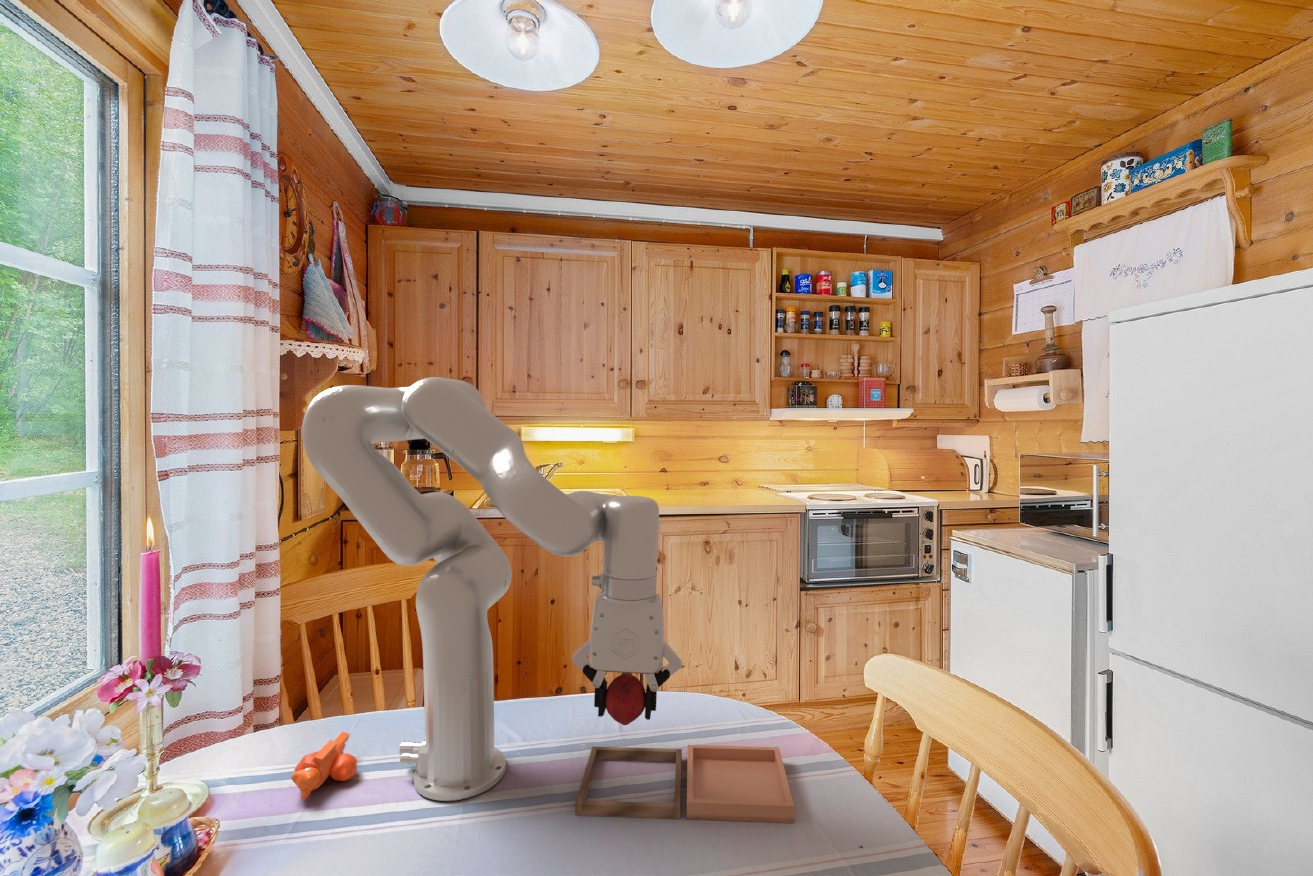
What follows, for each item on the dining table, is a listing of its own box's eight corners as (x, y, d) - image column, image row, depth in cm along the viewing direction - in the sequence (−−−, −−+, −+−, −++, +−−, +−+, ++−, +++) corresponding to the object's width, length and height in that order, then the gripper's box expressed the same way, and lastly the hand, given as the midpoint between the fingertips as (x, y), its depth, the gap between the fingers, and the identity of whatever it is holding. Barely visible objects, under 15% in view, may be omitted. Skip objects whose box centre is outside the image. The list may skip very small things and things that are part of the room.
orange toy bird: (331, 720, 92) (286, 765, 80) (379, 734, 93) (341, 781, 81) (321, 751, 92) (274, 801, 80) (368, 765, 93) (329, 817, 81)
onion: (640, 738, 81) (642, 680, 81) (598, 732, 82) (600, 675, 82) (649, 717, 87) (651, 663, 87) (610, 712, 88) (612, 658, 88)
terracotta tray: (686, 819, 78) (686, 802, 78) (687, 759, 91) (687, 744, 91) (794, 823, 77) (794, 806, 77) (779, 761, 90) (779, 747, 90)
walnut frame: (575, 815, 79) (574, 803, 78) (592, 756, 92) (592, 746, 92) (679, 818, 78) (679, 807, 78) (681, 758, 91) (681, 749, 91)
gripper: (562, 590, 81) (558, 723, 81) (691, 597, 80) (686, 731, 80) (573, 575, 88) (569, 697, 89) (691, 581, 87) (687, 704, 88)
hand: (625, 712), depth 85 cm, fingers closed on onion, 5 cm apart
